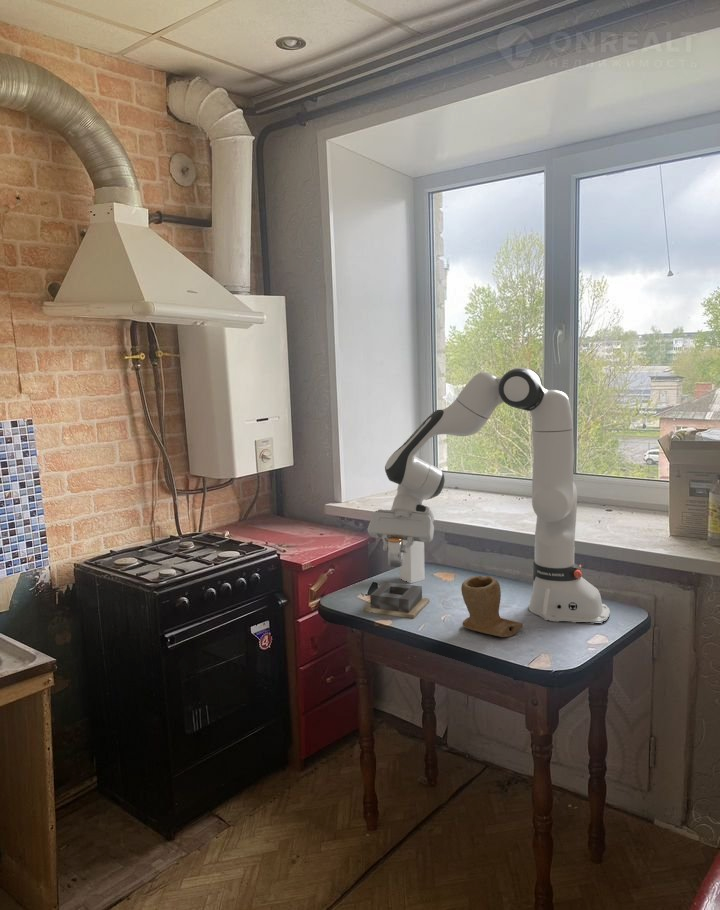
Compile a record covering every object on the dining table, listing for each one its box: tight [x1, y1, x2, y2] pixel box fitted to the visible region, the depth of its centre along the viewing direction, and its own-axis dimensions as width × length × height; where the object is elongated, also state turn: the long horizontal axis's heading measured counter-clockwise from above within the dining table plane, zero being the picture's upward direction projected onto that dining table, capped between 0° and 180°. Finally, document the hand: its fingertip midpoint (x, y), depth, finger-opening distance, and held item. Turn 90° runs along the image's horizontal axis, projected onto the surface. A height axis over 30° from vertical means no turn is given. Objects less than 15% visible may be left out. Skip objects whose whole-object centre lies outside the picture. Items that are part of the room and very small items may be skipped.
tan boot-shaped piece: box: [461, 575, 524, 638], centre depth 183 cm, size 15×12×15 cm
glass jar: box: [387, 537, 403, 568], centre depth 202 cm, size 4×4×8 cm
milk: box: [399, 540, 426, 584], centre depth 227 cm, size 6×6×22 cm
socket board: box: [362, 581, 430, 619], centre depth 204 cm, size 16×14×5 cm
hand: (394, 551), depth 202 cm, fingers closed on glass jar, 4 cm apart
